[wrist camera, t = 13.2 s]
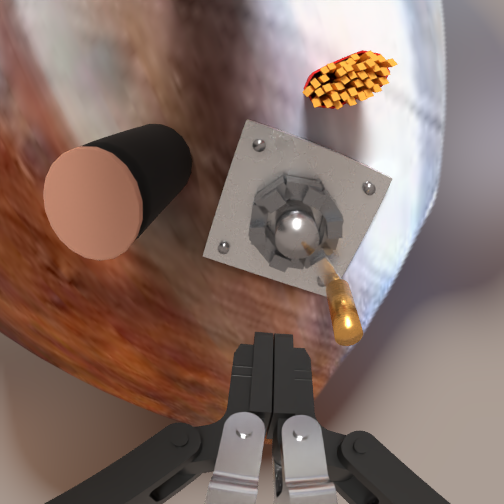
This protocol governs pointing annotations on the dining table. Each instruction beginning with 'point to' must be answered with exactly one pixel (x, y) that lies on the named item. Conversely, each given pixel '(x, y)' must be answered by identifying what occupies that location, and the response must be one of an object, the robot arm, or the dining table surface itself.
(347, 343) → the spiky gray ring
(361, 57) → the french fries
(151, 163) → the coffee jar
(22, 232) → the dining table surface
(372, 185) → the flange plate
